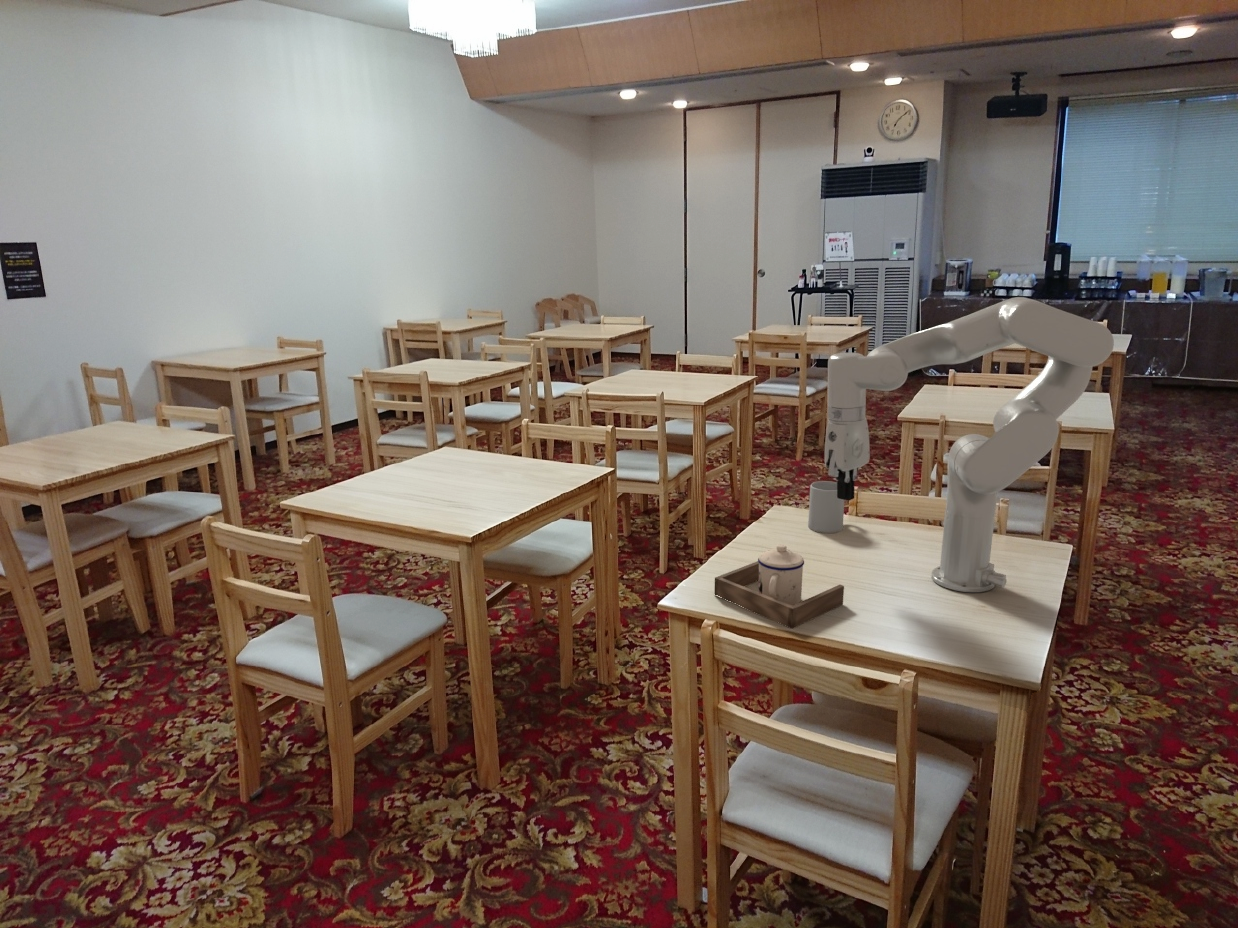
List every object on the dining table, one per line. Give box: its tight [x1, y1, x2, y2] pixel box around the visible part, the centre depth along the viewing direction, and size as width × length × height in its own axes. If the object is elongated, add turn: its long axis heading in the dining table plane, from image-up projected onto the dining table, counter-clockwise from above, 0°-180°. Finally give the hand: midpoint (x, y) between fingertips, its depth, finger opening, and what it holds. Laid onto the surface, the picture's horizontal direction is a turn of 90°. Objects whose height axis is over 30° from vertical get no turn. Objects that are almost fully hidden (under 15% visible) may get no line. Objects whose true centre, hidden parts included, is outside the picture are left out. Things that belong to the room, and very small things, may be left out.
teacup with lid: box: [757, 544, 805, 606], centre depth 170 cm, size 12×9×12 cm
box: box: [713, 560, 845, 629], centre depth 172 cm, size 20×16×4 cm
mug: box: [807, 480, 846, 534], centre depth 213 cm, size 12×8×11 cm
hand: (845, 498), depth 180 cm, fingers closed
